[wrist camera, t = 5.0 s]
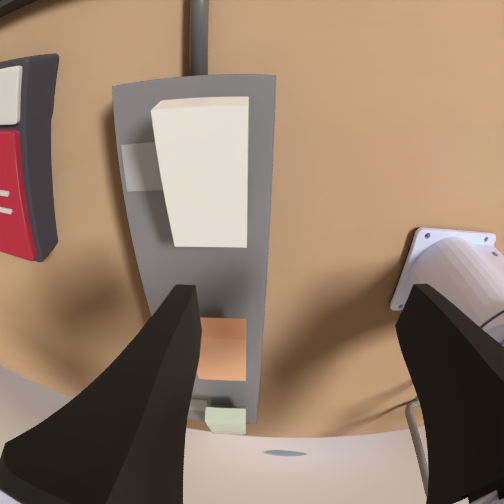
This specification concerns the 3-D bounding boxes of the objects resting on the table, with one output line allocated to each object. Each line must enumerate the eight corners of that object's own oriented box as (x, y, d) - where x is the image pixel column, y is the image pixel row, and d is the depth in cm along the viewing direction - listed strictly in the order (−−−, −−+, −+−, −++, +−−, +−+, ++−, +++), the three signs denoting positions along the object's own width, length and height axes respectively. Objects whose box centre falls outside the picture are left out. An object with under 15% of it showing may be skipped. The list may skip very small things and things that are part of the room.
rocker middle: (246, 318, 17) (245, 339, 16) (246, 364, 22) (245, 380, 21) (185, 316, 17) (182, 336, 16) (200, 362, 22) (199, 378, 21)
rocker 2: (245, 408, 24) (245, 423, 23) (245, 423, 29) (245, 434, 28) (205, 406, 24) (204, 421, 23) (213, 421, 28) (212, 433, 28)
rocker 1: (248, 96, 10) (248, 106, 10) (247, 228, 15) (246, 247, 14) (160, 100, 10) (150, 110, 9) (179, 228, 15) (174, 246, 14)
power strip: (274, -64, 9) (279, -95, 5) (256, 401, 32) (256, 430, 29) (140, -52, 9) (114, -75, 5) (190, 398, 32) (186, 427, 29)
